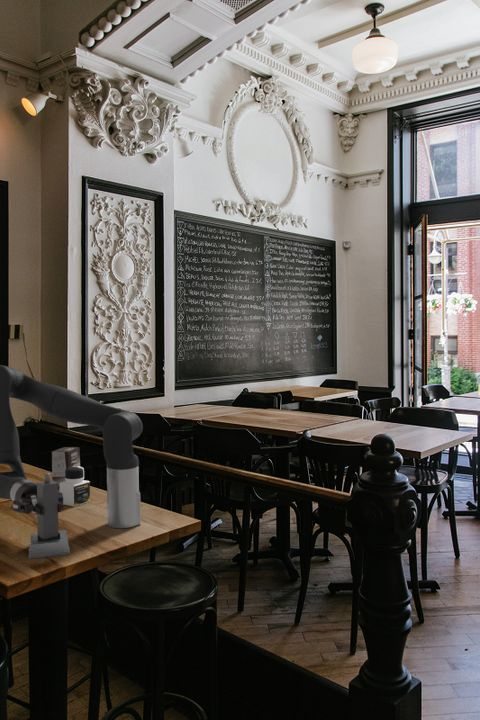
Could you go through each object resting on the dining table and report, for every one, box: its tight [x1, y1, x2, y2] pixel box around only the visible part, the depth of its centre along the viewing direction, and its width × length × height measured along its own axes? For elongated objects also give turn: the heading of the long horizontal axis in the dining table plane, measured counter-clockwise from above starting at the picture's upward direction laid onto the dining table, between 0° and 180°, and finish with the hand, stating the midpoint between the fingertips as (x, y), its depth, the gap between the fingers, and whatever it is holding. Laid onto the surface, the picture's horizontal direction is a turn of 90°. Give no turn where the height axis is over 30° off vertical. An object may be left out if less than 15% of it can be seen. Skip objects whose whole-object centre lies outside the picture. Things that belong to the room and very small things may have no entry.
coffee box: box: [51, 446, 81, 493], centre depth 210 cm, size 9×6×16 cm
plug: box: [36, 472, 59, 539], centre depth 155 cm, size 4×4×16 cm
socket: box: [28, 529, 71, 560], centre depth 156 cm, size 10×10×3 cm
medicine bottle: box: [60, 466, 91, 507], centre depth 199 cm, size 7×7×12 cm
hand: (51, 509), depth 153 cm, fingers closed on plug, 4 cm apart
